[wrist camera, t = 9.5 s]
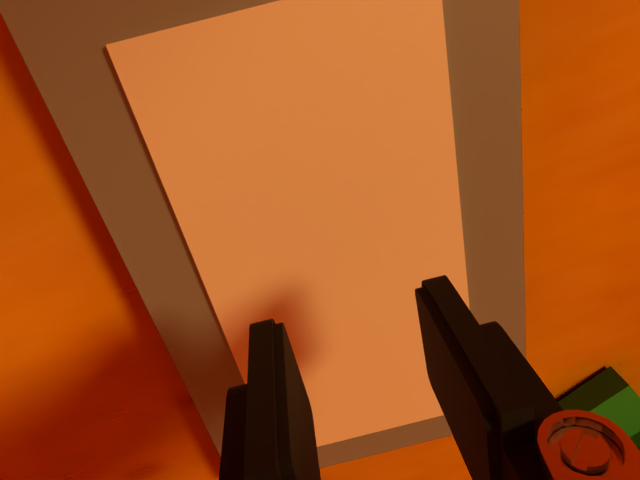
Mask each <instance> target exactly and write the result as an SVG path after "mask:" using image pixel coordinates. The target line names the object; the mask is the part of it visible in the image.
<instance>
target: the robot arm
mask: <svg viewBox="0 0 640 480" xmlns="http://www.w3.org/2000/svg"><path fill="white" fill-rule="evenodd" d="M415 297H416V303H417V310H418V316H419V323H420V329H421V336H422V342H423V349H424V355H425V361H426V368H427V374H428V378H429V381H430V384H431V387H432V389H433V391H434V393H435V396H436V398H437V400H438V403H439V405H440V407H441V409H442V412H443V414H444V416H445V418H446V421H447V423H448V425H449V427H450V430H451V432H452V434H453V437H454V439H455V441H456V443H457V446H458V448H459V450H460V452H461V455H462V457H463V459H464V462H465V464H466V466H467V468H468V471H469V473H470V475H471V477H472V480H640V451H639V450H638V448H637V447H636V446H635V444H634V443H633V441H632V440H631V438H630V437H629V436H628V435H627V434H626V433H625V432H624V431H623V429H622V428H621V427H619V426H618V425H617V424H615V423H614V422H612V421H611V420H609V419H608V418H605V417H603V416H601V415H598V414H596V413H593V412H588V411H583V410H563V409H562V408H561V406H560V405H559V403H558V402H557V401H556V399H555V398H554V397H553V395H552V394H551V393H550V391H549V390H548V389H547V387H546V386H545V385H544V383H543V382H542V380H541V379H540V378H539V376H538V375H537V374H536V372H535V371H534V370H533V368H532V367H531V366H530V364H529V363H528V361H527V360H526V359H525V357H524V356H523V355H522V353H521V352H520V351H519V349H518V348H517V347H516V345H515V344H514V342H513V341H512V340H511V338H510V337H509V336H508V334H507V333H506V332H505V330H504V329H503V328H502V326H501V325H500V324H499V323H498V322H496V321H493V322H489V323H485V324H481V325H479V323H478V322H477V320H476V319H475V317H474V316H473V314H472V313H471V311H470V310H469V308H468V307H467V305H466V304H465V302H464V301H463V299H462V298H461V296H460V295H459V293H458V292H457V290H456V289H455V287H454V286H453V284H452V283H451V281H450V280H449V279H448V277H447V276H446V275H442V276H438V277H434V278H430V279H426V280H422V287H420V288H416V289H415ZM219 480H321V477H320V469H319V461H318V453H317V445H316V437H315V429H314V421H313V414H312V409H311V405H310V401H309V398H308V395H307V392H306V389H305V386H304V383H303V380H302V377H301V374H300V371H299V368H298V365H297V362H296V359H295V355H294V352H293V349H292V346H291V343H290V340H289V337H288V334H287V331H286V328H285V325H284V323H283V322H281V323H277V324H276V323H275V321H274V319H273V318H272V319H268V320H264V321H260V322H256V323H252V324H250V326H249V349H248V375H247V384H243V385H239V386H235V387H231V388H229V389H228V391H227V396H226V406H225V417H224V428H223V439H222V451H221V462H220V473H219Z"/></svg>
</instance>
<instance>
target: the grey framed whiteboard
mask: <svg viewBox="0 0 640 480" xmlns="http://www.w3.org/2000/svg"><path fill="white" fill-rule="evenodd" d="M0 13H1V15H2V17H3V19H4V21H5V23H6V25H7V27H8V29H9V31H10V33H11V35H12V37H13V39H14V41H15V43H16V45H17V47H18V49H19V51H20V53H21V55H22V57H23V59H24V61H25V63H26V65H27V67H28V69H29V71H30V73H31V75H32V77H33V79H34V81H35V84H36V86H37V88H38V90H39V92H40V94H41V96H42V98H43V100H44V102H45V104H46V106H47V108H48V110H49V112H50V114H51V116H52V118H53V120H54V122H55V124H56V126H57V128H58V130H59V132H60V134H61V136H62V138H63V140H64V142H65V144H66V146H67V148H68V150H69V152H70V154H71V156H72V158H73V160H74V162H75V164H76V166H77V168H78V170H79V172H80V174H81V176H82V178H83V180H84V182H85V184H86V186H87V188H88V190H89V192H90V194H91V197H92V199H93V201H94V203H95V205H96V207H97V209H98V211H99V213H100V215H101V217H102V219H103V221H104V223H105V225H106V227H107V229H108V231H109V233H110V235H111V237H112V239H113V241H114V243H115V245H116V247H117V249H118V251H119V253H120V255H121V257H122V259H123V261H124V263H125V265H126V267H127V269H128V271H129V273H130V275H131V277H132V279H133V281H134V283H135V285H136V287H137V289H138V291H139V293H140V295H141V297H142V299H143V301H144V303H145V305H146V307H147V309H148V312H149V314H150V316H151V318H152V320H153V322H154V324H155V326H156V328H157V330H158V332H159V334H160V336H161V338H162V340H163V342H164V344H165V346H166V348H167V350H168V352H169V354H170V356H171V358H172V360H173V362H174V364H175V366H176V368H177V370H178V372H179V374H180V376H181V378H182V380H183V382H184V384H185V386H186V388H187V390H188V392H189V394H190V396H191V398H192V400H193V402H194V404H195V406H196V408H197V410H198V412H199V414H200V416H201V418H202V420H203V422H204V424H205V427H206V429H207V431H208V433H209V435H210V437H211V439H212V441H213V443H214V445H215V447H216V449H217V451H218V453H219V455H220V457H221V451H222V439H223V428H224V417H225V406H226V396H227V391H228V389H229V388H231V387H235V386H239V385H243V384H247V375H248V349H249V326H250V324H252V323H256V322H260V321H264V320H268V319H272V318H273V319H274V321H275V323H276V324H277V323H281V322H283V323H284V325H285V328H286V331H287V334H288V337H289V340H290V343H291V346H292V349H293V352H294V355H295V359H296V362H297V365H298V368H299V371H300V374H301V377H302V380H303V383H304V386H305V389H306V392H307V395H308V398H309V401H310V405H311V409H312V414H313V421H314V429H315V437H316V445H317V453H318V461H319V468H323V467H327V466H331V465H335V464H339V463H343V462H347V461H351V460H355V459H359V458H363V457H367V456H371V455H375V454H379V453H383V452H387V451H391V450H395V449H399V448H403V447H407V446H411V445H415V444H419V443H423V442H427V441H431V440H435V439H439V438H443V437H447V436H451V435H453V434H452V432H451V430H450V427H449V425H448V423H447V421H446V418H445V416H444V414H443V412H442V409H441V407H440V405H439V403H438V400H437V398H436V396H435V393H434V391H433V389H432V387H431V384H430V381H429V378H428V374H427V368H426V361H425V355H424V349H423V342H422V336H421V329H420V323H419V316H418V310H417V303H416V297H415V289H416V288H420V287H422V280H426V279H430V278H434V277H438V276H442V275H446V276H447V277H448V279H449V280H450V281H451V283H452V284H453V286H454V287H455V289H456V290H457V292H458V293H459V295H460V296H461V298H462V299H463V301H464V302H465V304H466V305H467V307H468V308H469V310H470V311H471V313H472V314H473V316H474V317H475V319H476V320H477V322H478V323H479V325H481V324H485V323H489V322H493V321H496V322H498V323H499V324H500V325H501V326H502V328H503V329H504V330H505V332H506V333H507V334H508V336H509V337H510V338H511V340H512V341H513V342H514V344H515V345H516V347H517V348H518V349H519V351H520V352H521V353H522V355H523V356H524V357H525V359H526V331H525V280H524V228H523V176H522V125H521V73H520V22H519V0H0Z"/></svg>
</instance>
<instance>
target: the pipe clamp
mask: <svg viewBox="0 0 640 480" xmlns="http://www.w3.org/2000/svg"><path fill="white" fill-rule="evenodd" d="M558 403H559V405H560V406H561V408H562V409H563V410H583V411H588V412H593V413H596V414H598V415H601V416H603V417H605V418H608V419H609V420H611V421H612V422H614V423H615V424H617V425H618V426H619V427H621V428H622V429H623V431H624V432H625V433H626V434H627V435H628V436H629V437H630V438H631V440H632V441H633V443H634V444H635V446H636V447H637V448H638V450H639V451H640V398H639V397H638V395H637V394H636V393H635V392H634V390H633V389H632V388H631V387H630V386H629V385H628V384H627V383H626V382H625V380H624V379H623V378H622V377H621V376H620V375H619V374H618V373H617V372H616V371H615V370H614V369H613V368H612V367H611V366H610V367H609V368H607V369H606V370H604V371H603V372H601V373H600V374H598V375H597V376H595V377H594V378H592V379H591V380H589V381H588V382H586V383H585V384H583V385H582V386H580V387H579V388H577V389H576V390H574V391H573V392H571V393H570V394H569V395H567V396H566V397H564V398H563V399H561V400H560V401H558Z"/></svg>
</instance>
